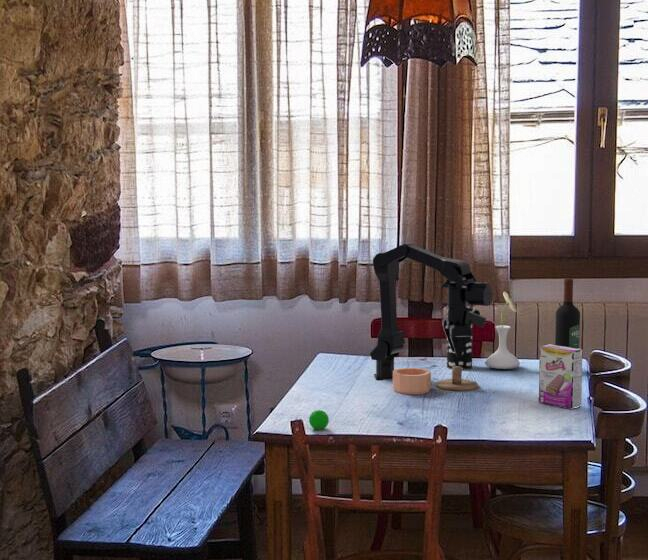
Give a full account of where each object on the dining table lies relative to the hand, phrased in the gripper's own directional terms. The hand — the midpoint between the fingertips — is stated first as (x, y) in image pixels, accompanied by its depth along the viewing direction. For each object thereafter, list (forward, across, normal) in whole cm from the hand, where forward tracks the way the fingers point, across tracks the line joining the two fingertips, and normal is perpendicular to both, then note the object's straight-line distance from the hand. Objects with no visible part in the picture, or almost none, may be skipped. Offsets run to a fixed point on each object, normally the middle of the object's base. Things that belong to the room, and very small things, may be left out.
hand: (456, 354), depth 306 cm
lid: (+10, 0, 0) cm, 10 cm away
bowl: (+10, -3, +14) cm, 18 cm away
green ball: (+10, -43, +43) cm, 62 cm away
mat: (+10, 0, 0) cm, 10 cm away
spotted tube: (+10, +30, -6) cm, 32 cm away
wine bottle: (+10, +20, -39) cm, 45 cm away
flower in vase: (+10, +28, -20) cm, 36 cm away
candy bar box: (+10, -23, -25) cm, 36 cm away
